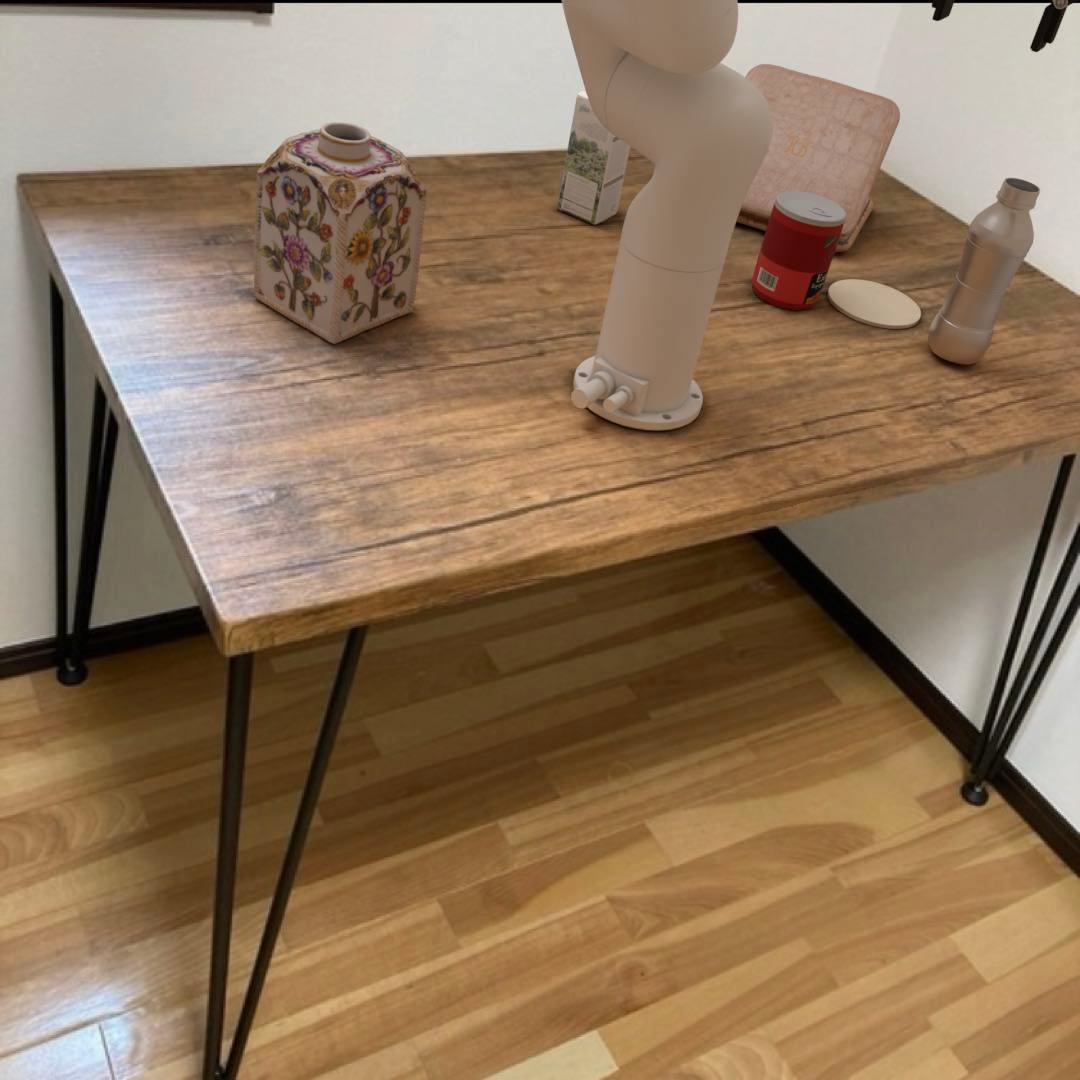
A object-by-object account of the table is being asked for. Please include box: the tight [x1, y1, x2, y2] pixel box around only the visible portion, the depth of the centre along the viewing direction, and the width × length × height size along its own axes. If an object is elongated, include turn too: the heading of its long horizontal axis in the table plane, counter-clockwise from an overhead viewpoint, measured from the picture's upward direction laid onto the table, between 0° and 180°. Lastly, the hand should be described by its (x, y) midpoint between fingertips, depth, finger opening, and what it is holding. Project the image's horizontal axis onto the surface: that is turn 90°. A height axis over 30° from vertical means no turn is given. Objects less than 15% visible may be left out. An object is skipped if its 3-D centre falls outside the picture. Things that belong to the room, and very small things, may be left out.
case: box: [736, 63, 901, 253], centre depth 159 cm, size 20×21×16 cm
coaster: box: [826, 278, 922, 330], centre depth 145 cm, size 11×11×1 cm
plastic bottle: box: [927, 177, 1041, 365], centre depth 132 cm, size 6×7×20 cm
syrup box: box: [556, 89, 632, 225], centre depth 149 cm, size 6×6×14 cm
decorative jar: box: [253, 121, 427, 345], centre depth 119 cm, size 12×12×18 cm
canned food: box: [751, 191, 846, 311], centre depth 140 cm, size 8×8×11 cm
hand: (988, 33), depth 118 cm, fingers open, 9 cm apart
